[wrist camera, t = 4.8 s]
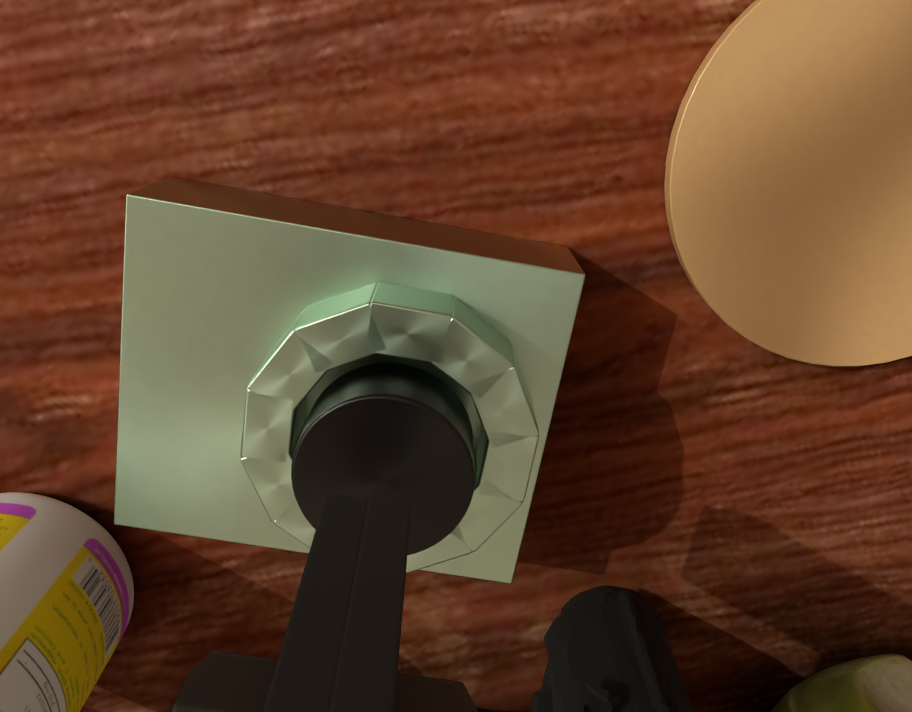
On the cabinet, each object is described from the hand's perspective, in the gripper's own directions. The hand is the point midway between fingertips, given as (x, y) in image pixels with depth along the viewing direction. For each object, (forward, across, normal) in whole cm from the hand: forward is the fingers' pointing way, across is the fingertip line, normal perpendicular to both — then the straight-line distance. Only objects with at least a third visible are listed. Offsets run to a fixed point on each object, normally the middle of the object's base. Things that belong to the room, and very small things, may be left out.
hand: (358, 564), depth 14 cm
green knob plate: (+10, +1, 0) cm, 10 cm away
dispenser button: (+5, 0, 0) cm, 5 cm away
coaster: (+10, -12, -8) cm, 17 cm away
